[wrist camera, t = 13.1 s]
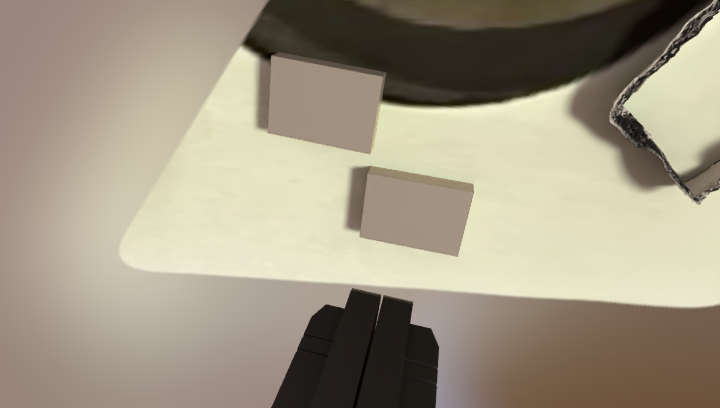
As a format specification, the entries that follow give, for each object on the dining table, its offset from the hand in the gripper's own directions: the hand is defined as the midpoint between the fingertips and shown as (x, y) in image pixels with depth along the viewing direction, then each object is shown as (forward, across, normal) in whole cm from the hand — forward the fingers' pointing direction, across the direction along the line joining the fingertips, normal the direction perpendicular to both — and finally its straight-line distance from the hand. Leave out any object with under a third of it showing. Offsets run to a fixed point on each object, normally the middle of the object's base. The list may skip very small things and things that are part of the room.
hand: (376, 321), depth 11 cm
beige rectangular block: (+19, -4, +7) cm, 21 cm away
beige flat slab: (+19, +3, 0) cm, 19 cm away
